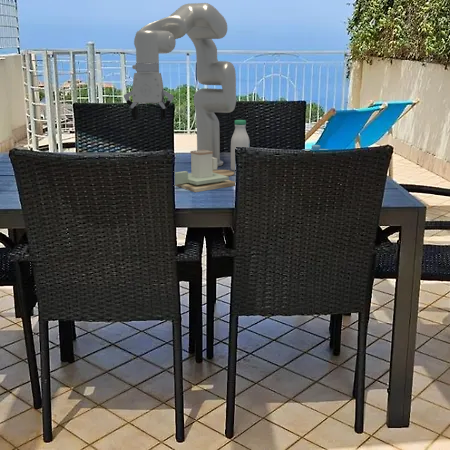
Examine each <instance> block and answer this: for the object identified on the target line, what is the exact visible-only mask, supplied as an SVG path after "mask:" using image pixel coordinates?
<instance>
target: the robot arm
mask: <svg viewBox="0 0 450 450" xmlns="http://www.w3.org/2000/svg"><path fill="white" fill-rule="evenodd" d="M227 32H228V23H227V20H226V18H225V17H224V16H223V14H222V13H220V11H219V10H218V9H217V8H215V7H214V5H212V4H210V3H208V2H198V3H197V2H195V3H184V4H182V5H181V6H179V7H178V8H177V9H176V10H175V11H174V12H173V13H171V14H170V15H169V16H166V17H163V18H160V19H158V20H155V21H152V22H150V23H147V24H146V25H144V26H143V27H141V29H139V30H137V31H136V32H135V35H134V38H133V39H134V40H133V45H134V48H135V57H136V58H135V59H136V61H135V64H133V65H132V66H131V67H132V70H135V71H136V72H134V73H133V79H132V90H131V91H128V92H127V93H125V94H124V95H123V98H124V101H126V104H127V105H128V106H129V107H130V109H131V117H132V118H133V121H136V120H139V109H138V107H137V106H138V105H139V104H158V105H159V106H160V107H161V108H160V121H165V120H166V118H167V108H168V107H169V106H170V105H171V103H172V101H173V100H174V98H175V96H174V95H173V94H171V92H170V93H169V92H168V91H167V90H165V89H164V81H163V76H162V72H160V57H159V54H169V53H171V52H173V51H174V49H175V47H176V44H177V43H176V42H177V41H176V40H178V39H181V38H183V37H184V36H185V35H187V37H188V38H189V39H190V41H191V42H192V44H193V45H194V48H195V55H196V57H195V58H196V77H197V81H198V83H199V84H200V85H205V86H221V88H212V87H211V88H200V89H198V90H197V91H196V92H195V93H194V95H193V104H194V105H193V106H194V108H195V109H194V110H195V117H196V150H208V151H212V152H213V154H212V157H214V158H217V167H220V166H223V165H224V161H223V160H221V159H220V158H221V157H220V154H221V153H220V152H221V151H220V148H221V147H220V146H221V145H220V121H219V119H218V116H217V115H216V114H215V113H225V114H226V113H227V114H229V113H232V112H233V111H234V110H235V108H236V104H237V81H236V80H237V78H236V77H237V73H236V69H235V68H236V67H235V66H234V64H233V62H231V61H226V60H222V61H221V60H220V61H219V60H218V47H217V45H216V43H215V41H214V40H220V39H223V38H225V37H226V35H227ZM130 97H132V100H131V99H130ZM165 97H167V101H166V102H165Z"/></svg>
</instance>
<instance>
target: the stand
mask: <svg viewBox="0 0 450 450" xmlns="http://www.w3.org/2000/svg"><path fill="white" fill-rule="evenodd" d="M235 182H236V181H234V180H230V179H229V180H227V181H220V182H214V183H207V184H201V185H194V184H191V183H184V184H177V185H175V187H178V188H180V189H184V190H188V191H190V192H193V193H200V192H204V191H211V190H216V189H223V188H229V187H230V188H231V187H235Z"/></svg>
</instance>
